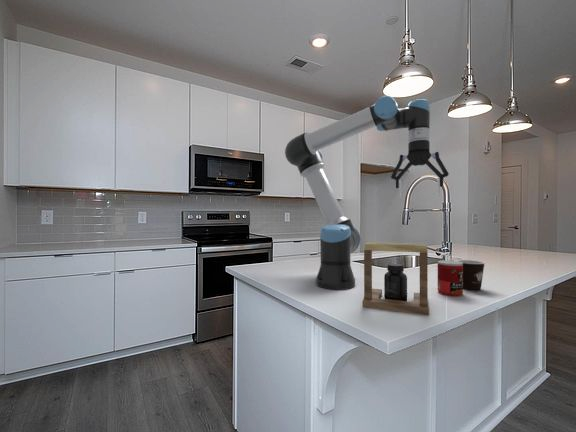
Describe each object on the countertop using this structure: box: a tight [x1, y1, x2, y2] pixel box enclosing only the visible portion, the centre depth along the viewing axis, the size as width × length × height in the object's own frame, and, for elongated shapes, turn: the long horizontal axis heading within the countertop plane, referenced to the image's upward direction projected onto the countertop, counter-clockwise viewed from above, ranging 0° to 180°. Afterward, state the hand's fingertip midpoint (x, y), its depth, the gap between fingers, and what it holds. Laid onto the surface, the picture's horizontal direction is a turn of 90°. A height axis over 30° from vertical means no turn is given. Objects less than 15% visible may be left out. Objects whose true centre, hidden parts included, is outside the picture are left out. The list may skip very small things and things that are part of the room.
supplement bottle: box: [383, 263, 408, 302], centre depth 92 cm, size 7×7×12 cm
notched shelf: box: [362, 241, 430, 316], centre depth 91 cm, size 15×18×19 cm
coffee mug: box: [457, 259, 485, 292], centre depth 108 cm, size 12×9×10 cm
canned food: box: [437, 259, 464, 297], centre depth 102 cm, size 8×8×11 cm
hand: (418, 196), depth 113 cm, fingers open, 13 cm apart
